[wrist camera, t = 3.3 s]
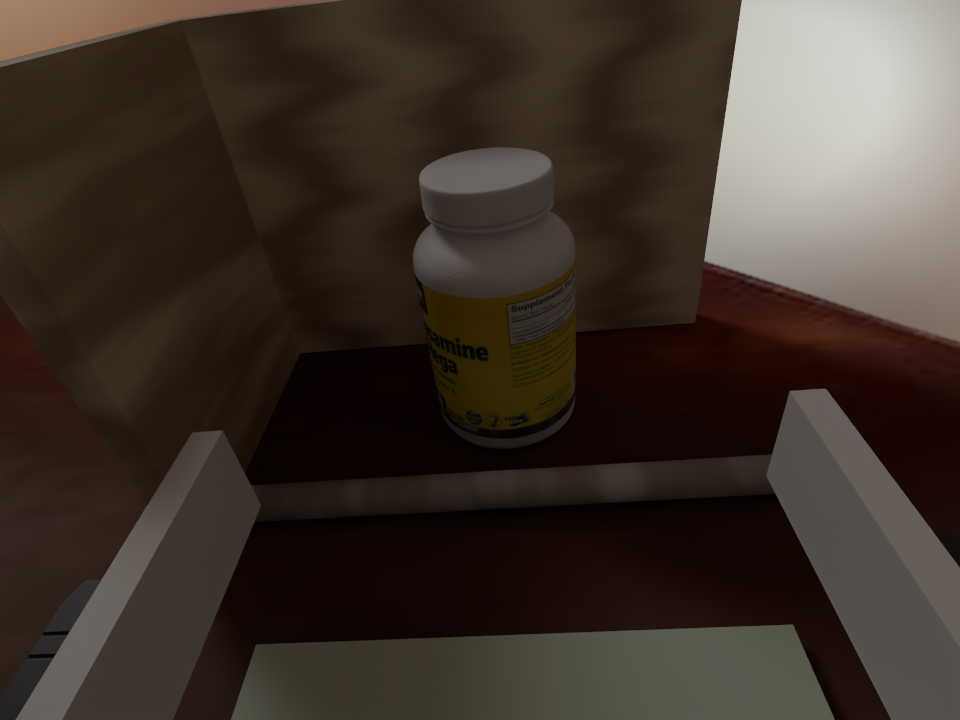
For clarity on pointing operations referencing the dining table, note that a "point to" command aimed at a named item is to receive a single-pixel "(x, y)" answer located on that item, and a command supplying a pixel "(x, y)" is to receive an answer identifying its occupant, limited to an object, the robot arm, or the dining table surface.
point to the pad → (540, 677)
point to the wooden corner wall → (345, 210)
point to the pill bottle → (498, 296)
